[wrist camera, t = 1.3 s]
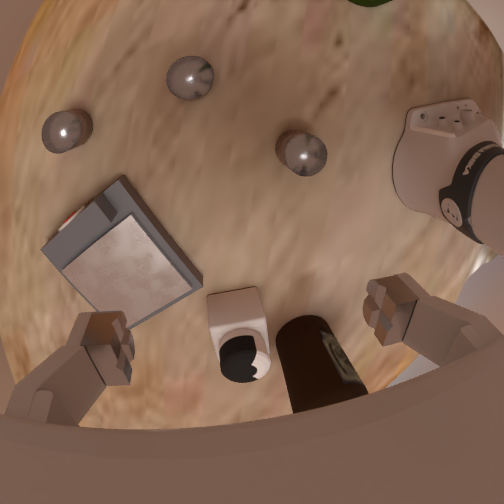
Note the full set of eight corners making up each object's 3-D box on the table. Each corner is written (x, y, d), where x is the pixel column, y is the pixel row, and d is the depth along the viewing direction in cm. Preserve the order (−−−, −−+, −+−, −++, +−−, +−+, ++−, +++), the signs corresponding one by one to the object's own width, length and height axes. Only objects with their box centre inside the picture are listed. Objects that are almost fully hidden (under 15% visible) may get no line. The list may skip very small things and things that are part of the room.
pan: (132, 212, 32) (130, 214, 31) (192, 285, 38) (192, 288, 37) (63, 268, 33) (61, 271, 33) (121, 327, 39) (120, 331, 38)
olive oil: (294, 365, 52) (336, 485, 30) (258, 338, 47) (297, 482, 26) (341, 332, 50) (404, 450, 28) (311, 300, 45) (381, 440, 24)
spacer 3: (301, 123, 33) (316, 127, 28) (317, 155, 35) (333, 163, 31) (268, 141, 33) (278, 147, 29) (286, 173, 35) (298, 183, 31)
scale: (121, 171, 32) (108, 183, 27) (202, 276, 40) (203, 300, 35) (45, 238, 34) (28, 257, 29) (124, 323, 42) (118, 348, 37)
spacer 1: (80, 101, 27) (63, 102, 23) (99, 130, 29) (84, 134, 25) (54, 126, 28) (35, 131, 23) (73, 153, 30) (55, 162, 25)
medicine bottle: (215, 330, 45) (222, 393, 35) (206, 294, 42) (210, 357, 31) (261, 322, 46) (278, 382, 35) (256, 285, 42) (274, 345, 32)
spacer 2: (199, 55, 27) (198, 47, 23) (219, 87, 29) (222, 83, 25) (164, 77, 28) (157, 72, 23) (185, 108, 30) (182, 108, 26)
